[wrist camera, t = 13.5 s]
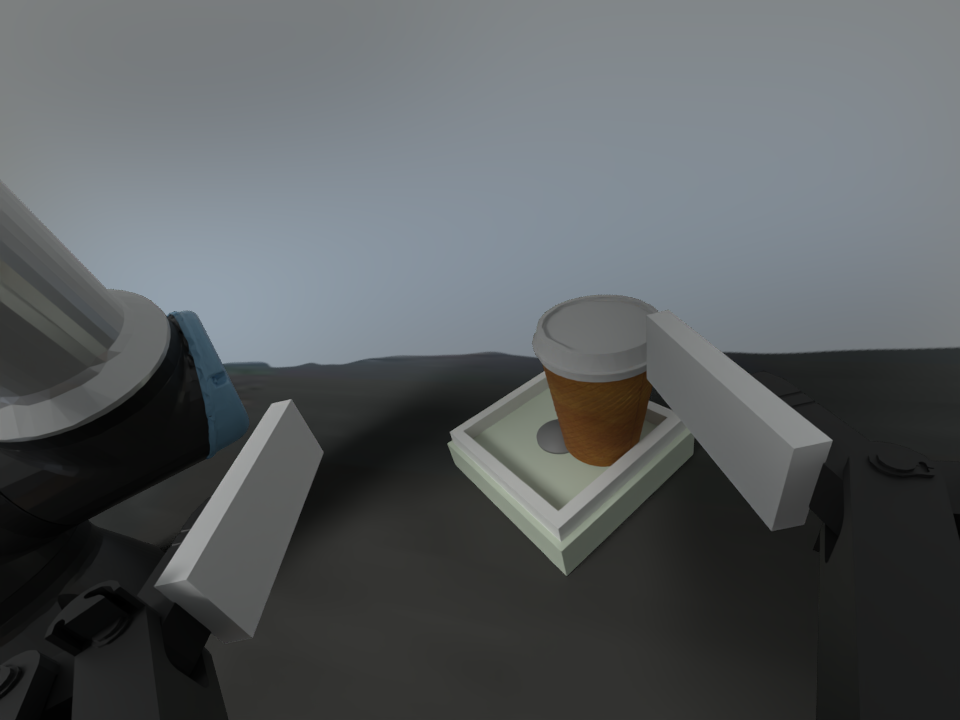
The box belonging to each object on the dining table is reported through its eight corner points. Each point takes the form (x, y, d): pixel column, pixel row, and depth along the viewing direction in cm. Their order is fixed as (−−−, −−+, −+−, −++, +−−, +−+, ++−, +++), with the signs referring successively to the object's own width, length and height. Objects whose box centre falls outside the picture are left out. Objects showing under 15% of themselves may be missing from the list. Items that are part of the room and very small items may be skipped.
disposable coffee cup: (537, 414, 38) (521, 306, 32) (632, 396, 38) (636, 282, 31) (559, 493, 30) (544, 371, 24) (681, 471, 30) (699, 341, 23)
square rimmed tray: (455, 464, 40) (443, 432, 38) (563, 390, 47) (558, 358, 44) (566, 576, 28) (558, 538, 26) (693, 454, 34) (695, 415, 32)
